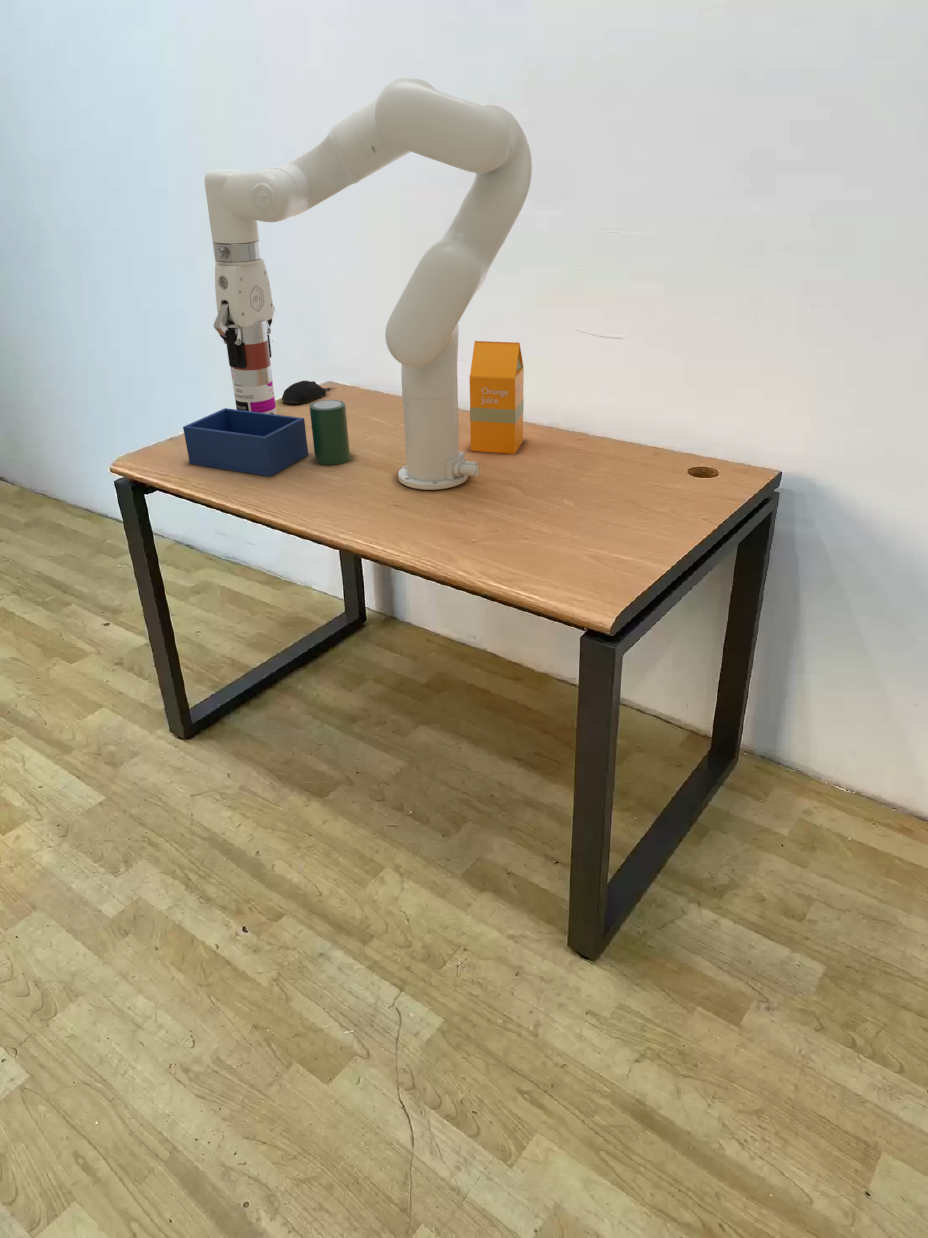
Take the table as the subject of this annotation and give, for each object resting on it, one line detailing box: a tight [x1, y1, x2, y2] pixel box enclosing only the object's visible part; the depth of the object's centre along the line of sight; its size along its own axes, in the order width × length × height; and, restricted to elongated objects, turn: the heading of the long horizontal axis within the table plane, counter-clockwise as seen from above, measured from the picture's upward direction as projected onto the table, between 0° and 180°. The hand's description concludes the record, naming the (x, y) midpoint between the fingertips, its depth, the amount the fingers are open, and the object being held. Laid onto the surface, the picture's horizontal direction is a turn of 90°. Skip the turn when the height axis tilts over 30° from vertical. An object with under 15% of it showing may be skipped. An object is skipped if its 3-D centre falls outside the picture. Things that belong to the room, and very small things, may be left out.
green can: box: [309, 399, 351, 466], centre depth 169 cm, size 7×7×11 cm
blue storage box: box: [182, 407, 309, 478], centre depth 171 cm, size 19×13×7 cm
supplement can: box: [229, 366, 278, 415], centre depth 190 cm, size 8×8×15 cm
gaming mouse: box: [281, 380, 331, 405], centre depth 208 cm, size 6×15×4 cm, turn 146°
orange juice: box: [469, 340, 525, 455], centre depth 171 cm, size 8×9×20 cm
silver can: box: [230, 320, 273, 387], centre depth 156 cm, size 7×7×11 cm
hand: (250, 361), depth 157 cm, fingers closed on silver can, 6 cm apart
